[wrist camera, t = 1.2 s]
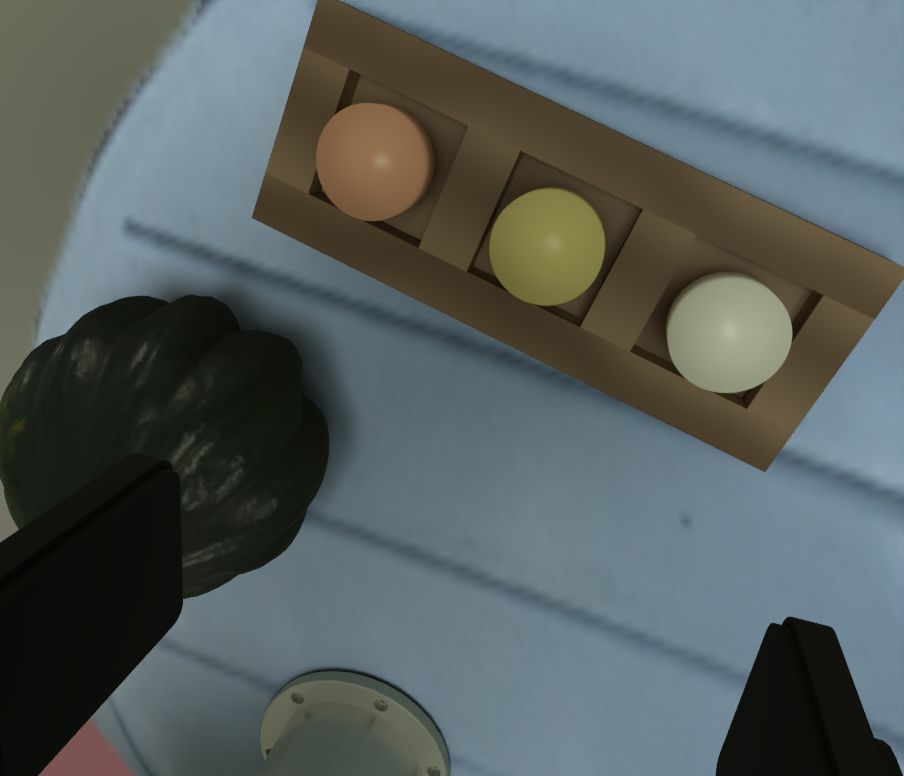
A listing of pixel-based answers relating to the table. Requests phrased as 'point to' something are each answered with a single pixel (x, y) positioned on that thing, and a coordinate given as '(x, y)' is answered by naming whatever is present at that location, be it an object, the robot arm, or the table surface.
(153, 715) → the table surface
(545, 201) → the mustard button
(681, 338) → the cream button
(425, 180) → the terracotta button
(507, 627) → the table surface
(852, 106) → the table surface
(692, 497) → the table surface
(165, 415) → the squash
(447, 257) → the button panel
